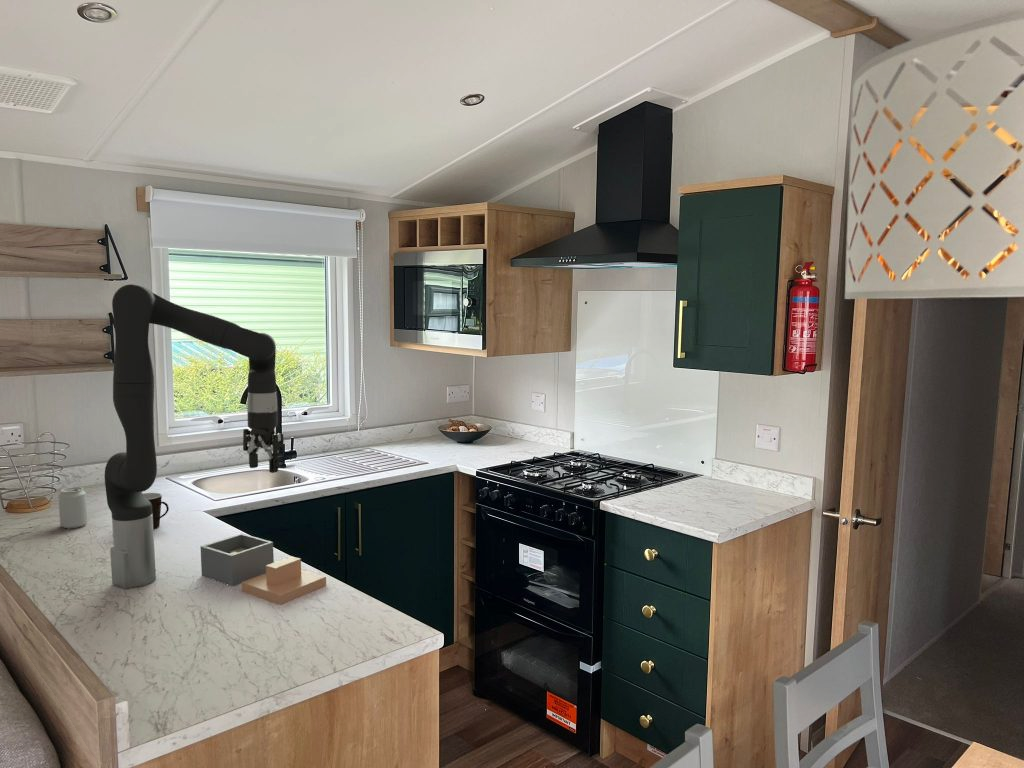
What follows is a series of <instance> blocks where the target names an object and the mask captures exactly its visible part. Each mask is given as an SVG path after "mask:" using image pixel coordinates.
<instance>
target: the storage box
mask: <svg viewBox="0 0 1024 768" xmlns="http://www.w3.org/2000/svg"><path fill="white" fill-rule="evenodd" d="M274 555H275V554H274V542H273V541H271V540H268V539H263V538H261V537H260V538H259V537H256V536H253V535H248V534H245V533H239V534H236V535H233V536H229V537H227V538H223V539H220V540H217V541H213V542H210V543H208V544H203V545H201V546H200V562H201V563H200V564H201V565H200V567H201V577H203V576H204V577H203V578H206V577H207V578H206V579H209V578H210V580H212V579H214V580H213V581H215V580H216V582H218V581H219V583H221V582H222V583H221V584H224V583H225V584H224V585H227V584H228V586H230V587H235V586H238V585H241V582H244V581H246V580H249V579H252V578H254V577H257V576H260V575H262V574H265V573H266V565H268V564H271V563H274V562H275V559H274V558H275V557H274Z"/></svg>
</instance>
